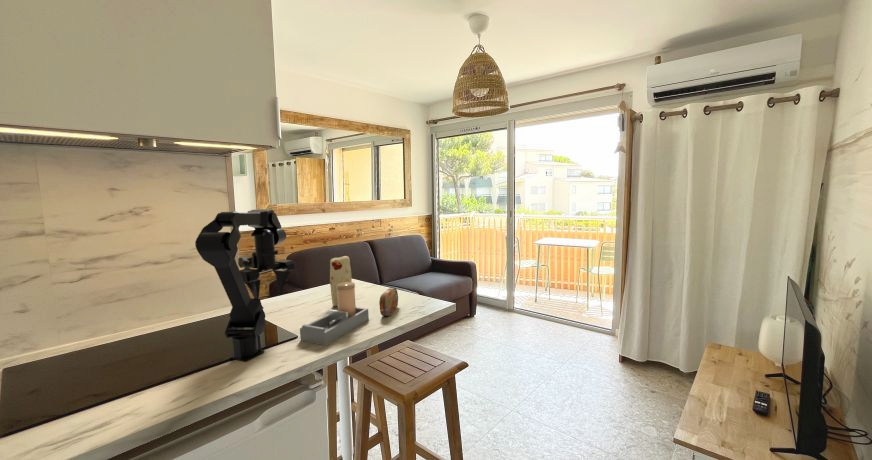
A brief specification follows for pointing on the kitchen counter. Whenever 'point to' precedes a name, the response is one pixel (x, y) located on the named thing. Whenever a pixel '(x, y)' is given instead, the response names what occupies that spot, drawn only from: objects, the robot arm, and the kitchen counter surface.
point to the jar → (346, 298)
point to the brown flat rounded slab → (388, 302)
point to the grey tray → (331, 328)
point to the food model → (339, 275)
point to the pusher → (336, 317)
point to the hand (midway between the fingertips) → (268, 295)
